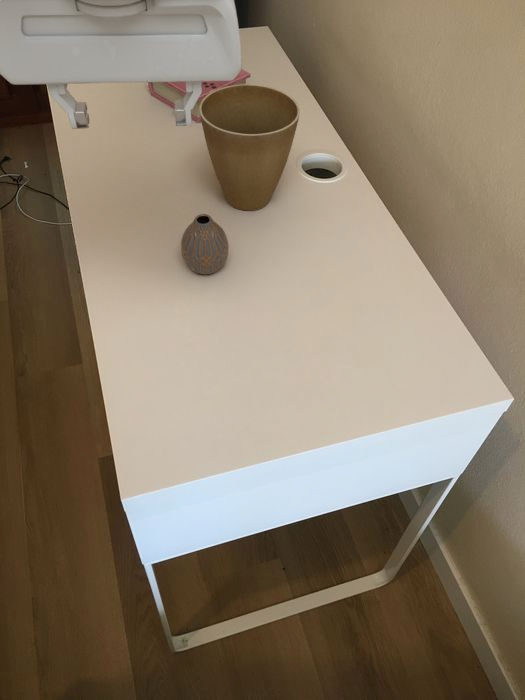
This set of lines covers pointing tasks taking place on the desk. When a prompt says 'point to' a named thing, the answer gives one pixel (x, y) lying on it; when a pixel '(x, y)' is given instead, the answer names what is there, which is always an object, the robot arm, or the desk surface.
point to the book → (178, 91)
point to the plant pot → (249, 140)
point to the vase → (204, 245)
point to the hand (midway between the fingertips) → (132, 124)
